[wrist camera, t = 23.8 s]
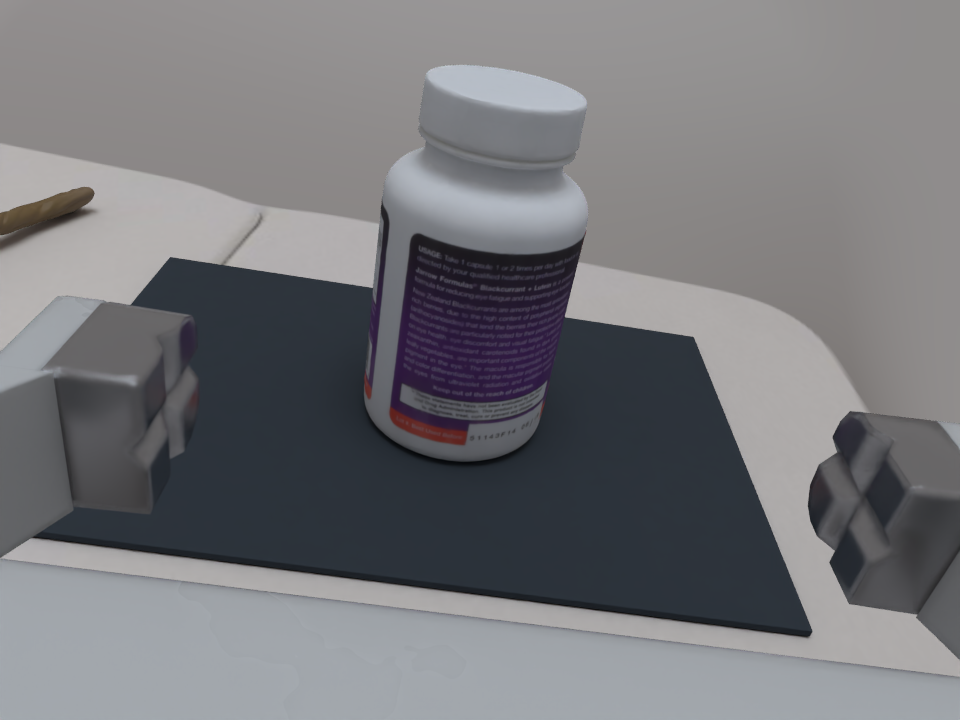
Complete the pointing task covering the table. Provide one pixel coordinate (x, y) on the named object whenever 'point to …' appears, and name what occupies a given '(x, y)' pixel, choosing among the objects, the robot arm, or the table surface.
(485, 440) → the pill bottle
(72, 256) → the table surface
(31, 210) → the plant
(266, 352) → the mat
